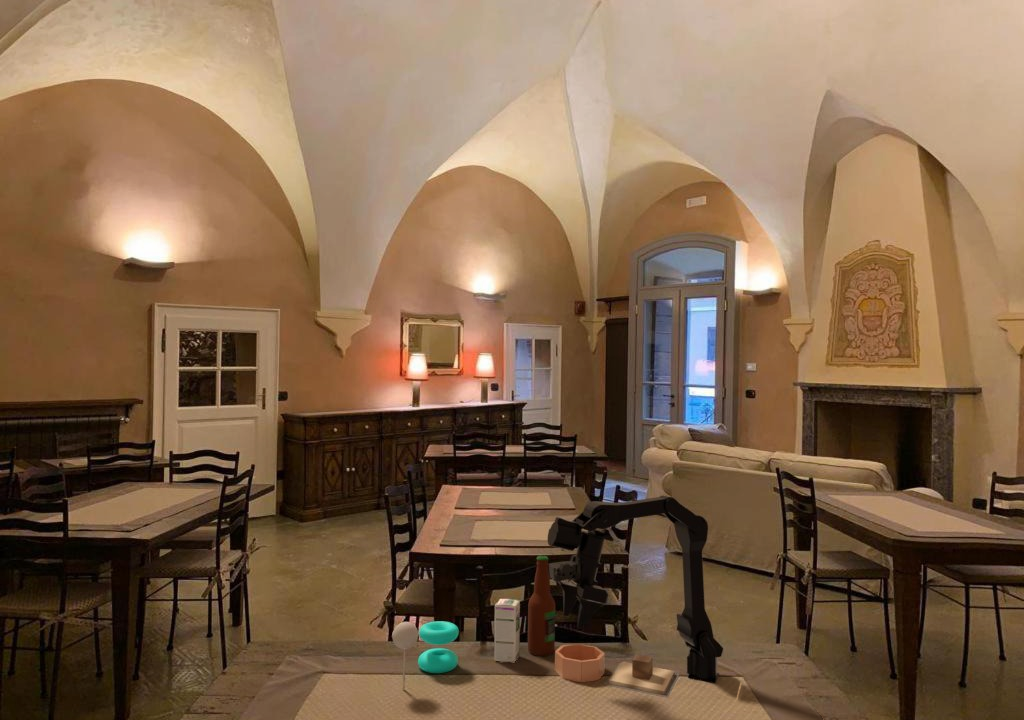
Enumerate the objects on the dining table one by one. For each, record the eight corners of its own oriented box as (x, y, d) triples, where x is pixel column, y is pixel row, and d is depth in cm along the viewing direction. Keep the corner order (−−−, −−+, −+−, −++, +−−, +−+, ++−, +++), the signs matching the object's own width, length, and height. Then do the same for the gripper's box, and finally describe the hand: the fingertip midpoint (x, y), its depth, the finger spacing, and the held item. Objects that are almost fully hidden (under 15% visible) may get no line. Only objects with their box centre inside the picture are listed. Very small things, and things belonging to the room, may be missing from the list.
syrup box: (515, 664, 161) (516, 605, 163) (493, 661, 163) (494, 603, 164) (519, 655, 167) (520, 599, 168) (498, 653, 168) (499, 597, 169)
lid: (674, 674, 156) (674, 654, 156) (664, 694, 144) (664, 673, 145) (623, 664, 161) (623, 645, 162) (608, 683, 150) (608, 662, 150)
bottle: (555, 657, 167) (556, 560, 169) (527, 656, 167) (529, 559, 169) (553, 646, 174) (555, 554, 176) (527, 646, 174) (529, 553, 176)
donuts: (466, 624, 161) (441, 635, 152) (465, 665, 160) (439, 678, 152) (437, 617, 166) (410, 627, 158) (436, 656, 165) (409, 668, 157)
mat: (679, 675, 156) (679, 673, 156) (667, 699, 143) (667, 697, 143) (620, 664, 163) (620, 662, 163) (603, 686, 149) (603, 684, 149)
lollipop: (421, 686, 147) (423, 620, 148) (409, 697, 141) (411, 628, 143) (397, 682, 149) (400, 616, 150) (385, 692, 143) (387, 624, 145)
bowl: (608, 669, 159) (608, 648, 160) (594, 686, 149) (594, 664, 149) (565, 661, 164) (566, 641, 164) (549, 677, 154) (550, 655, 154)
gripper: (545, 540, 157) (529, 603, 155) (571, 556, 139) (553, 628, 137) (585, 549, 160) (570, 612, 157) (616, 567, 142) (599, 637, 140)
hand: (572, 621), depth 148 cm, fingers open, 9 cm apart
